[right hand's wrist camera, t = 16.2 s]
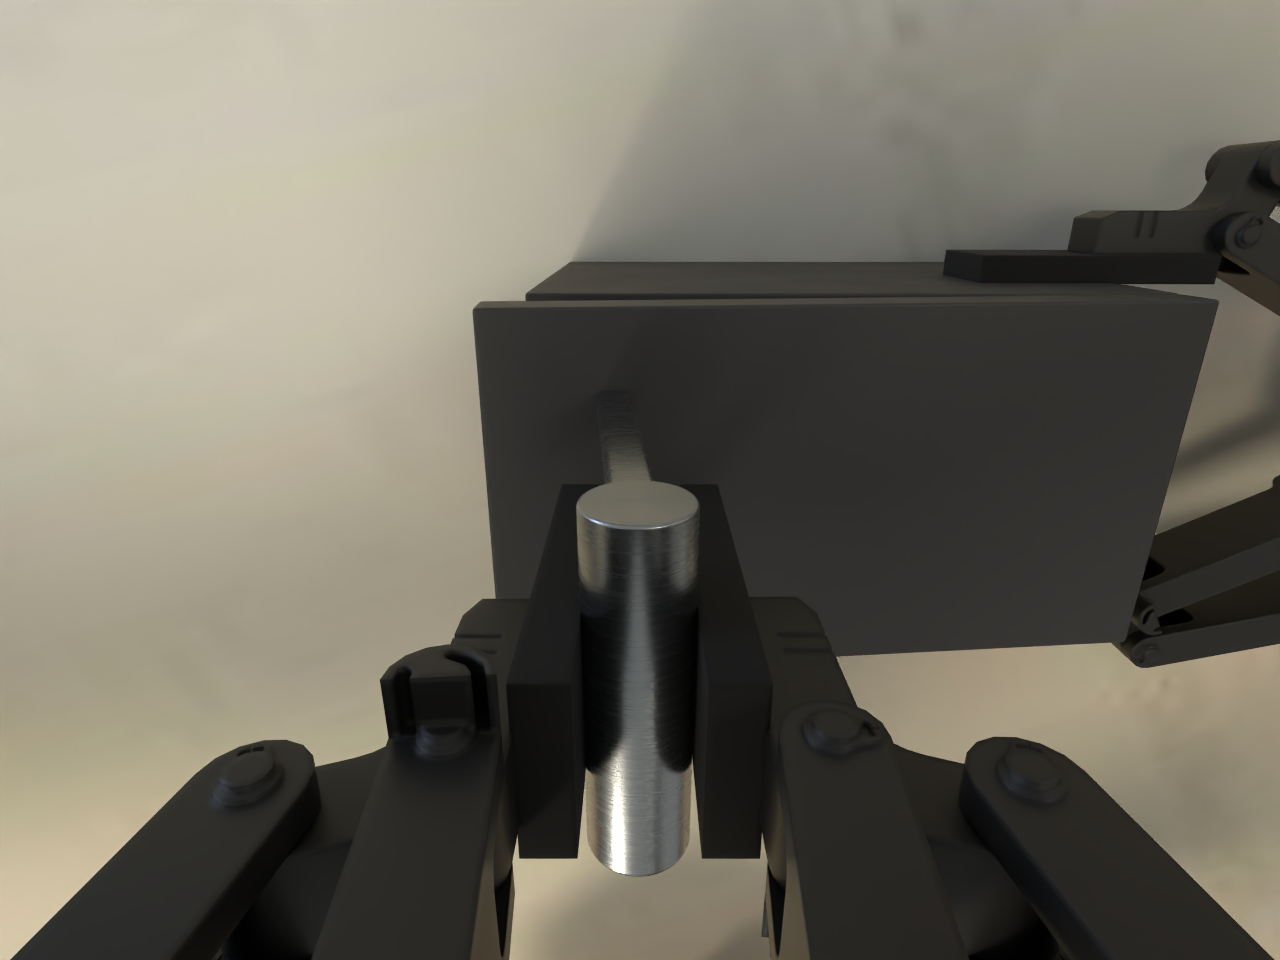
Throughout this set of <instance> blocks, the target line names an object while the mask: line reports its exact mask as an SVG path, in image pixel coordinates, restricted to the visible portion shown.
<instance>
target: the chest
mask: <svg viewBox="0 0 1280 960" xmlns="http://www.w3.org/2000/svg"><path fill="white" fill-rule="evenodd" d="M943 269H944V262H570V263H568V264H567V265H566V266H564V267H563V268H561V269H560V270H559V271H557V272H556V273H554V274H553V275H552V276H550V277H549V278H547V279H546V280H544V281H543V282H542V283H540V284H539V285H537V286H536V287H535V288H533V289H532V290H530V291H529V292H528V293H526V301H591V300H687V299H784V298H881V297H978V296H1075V295H1172V294H1177V293H1171V292H1164V291H1158V290H1152V289H1146V288H1140V287H1134V286H1128V285H1122V284H1116V283H978V282H974V281H970V280H965V279H961V278H956V277H952V276H948V275H943Z"/></svg>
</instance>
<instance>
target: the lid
mask: <svg viewBox="0 0 1280 960" xmlns="http://www.w3.org/2000/svg"><path fill="white" fill-rule="evenodd" d="M1218 304H1219V301H1218V300H1215V299H1208V298H1201V297H1194V296H1187V295H1180V294H1172V295H1075V296H978V297H881V298H784V299H687V300H591V301H494V302H480V303H479V304H478V305H477V306H476V307H475V308H474V309H473V322H474V334H475V347H476V359H477V371H478V384H479V396H480V409H481V421H482V434H483V446H484V458H485V471H486V483H487V496H488V508H489V521H490V533H491V545H492V558H493V570H494V583H495V595H496V599H530V596H531V593H532V589H533V586H534V582H535V578H536V575H537V571H538V568H539V564H540V561H541V557H542V553H543V550H544V546H545V543H546V539H547V536H548V532H549V528H550V525H551V521H552V518H553V514H554V510H555V507H556V503H557V500H558V496H559V493H560V489H561V485H562V484H599V486H598V487H595V488H593V489H590V490H588V491H587V492H585V493H584V494H583V495H582V496H581V497H580V498H579V500H578V502H577V505H576V515H577V545H578V575H579V604H580V611H581V633H582V663H583V693H584V723H585V753H586V773H585V781H586V811H587V837H588V843H589V846H590V848H591V851H592V852H593V854H594V855H595V857H596V858H597V859H598V860H599V861H600V862H601V863H602V864H603V865H604V866H606V867H607V868H609V869H610V870H612V871H614V872H617V873H620V874H623V875H627V876H636V877H637V876H650V875H654V874H657V873H660V872H663V871H664V870H666V869H668V868H670V867H671V866H673V865H674V864H675V863H676V862H677V861H678V860H679V859H680V858H681V856H682V855H683V854H684V852H685V850H686V848H687V845H688V842H689V835H690V805H691V773H692V742H693V710H694V679H695V648H696V616H697V585H698V553H699V522H700V504H699V501H698V499H697V497H696V496H695V495H694V494H693V493H691V492H690V491H688V490H686V489H684V488H682V487H680V484H718V487H719V491H720V495H721V498H722V502H723V505H724V509H725V513H726V516H727V520H728V523H729V527H730V530H731V534H732V538H733V541H734V545H735V548H736V552H737V556H738V559H739V563H740V566H741V570H742V573H743V577H744V581H745V584H746V588H747V591H748V595H749V597H798V598H799V599H800V600H802V601H803V602H804V603H805V604H806V605H808V606H809V607H810V608H811V609H812V610H814V611H815V612H816V613H817V615H818V617H819V620H820V622H821V624H822V627H823V629H824V631H825V636H827V638H828V640H829V643H830V645H831V647H832V652H834V654H835V656H854V655H874V654H893V653H913V652H933V651H952V650H972V649H992V648H1011V647H1031V646H1051V645H1070V644H1090V643H1110V642H1124V641H1125V640H1126V636H1127V632H1128V629H1129V625H1130V622H1131V618H1132V614H1133V611H1134V607H1135V604H1136V600H1137V596H1138V593H1139V589H1140V586H1141V582H1142V578H1143V575H1144V571H1145V567H1146V564H1147V560H1148V557H1149V553H1150V549H1151V546H1152V542H1153V539H1154V535H1155V531H1156V528H1157V524H1158V521H1159V517H1160V513H1161V510H1162V506H1163V503H1164V499H1165V495H1166V492H1167V488H1168V484H1169V481H1170V477H1171V474H1172V470H1173V466H1174V463H1175V459H1176V456H1177V452H1178V448H1179V445H1180V441H1181V438H1182V434H1183V430H1184V427H1185V423H1186V420H1187V416H1188V412H1189V409H1190V405H1191V401H1192V398H1193V394H1194V391H1195V387H1196V383H1197V380H1198V376H1199V373H1200V369H1201V365H1202V362H1203V358H1204V355H1205V351H1206V347H1207V344H1208V340H1209V337H1210V333H1211V329H1212V326H1213V322H1214V319H1215V315H1216V311H1217V308H1218Z"/></svg>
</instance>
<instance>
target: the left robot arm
mask: <svg viewBox="0 0 1280 960" xmlns="http://www.w3.org/2000/svg"><path fill="white" fill-rule="evenodd" d="M1205 177H1206V181H1207V184H1206V186H1205V187H1204V189H1203V191H1202V192H1201V194H1200V195H1199V196H1198V198H1197V199H1196V200H1195V201H1194V202H1192V203H1191V204H1190V205H1188V206H1186V207H1185V208H1182V209H1179V210H1173V211H1090V212H1087V213H1085V214H1082V215H1080V216H1077V217H1074V221H1073V226H1072V231H1071V236H1070V240H1069V245H1068V250H946V255H945V262H944V269H943V275H948V276H952V277H956V278H961V279H965V280H970V281H974V282H978V283H1116V284H1214V283H1215V279H1216V277H1217V278H1219V279H1221V280H1222V281H1224V282H1225V283H1227V284H1229V285H1230V286H1232V287H1234V288H1235V289H1237V290H1238V291H1240V292H1242V293H1243V294H1245V295H1246V296H1248V297H1250V298H1251V299H1253V300H1255V301H1256V302H1258V303H1259V304H1261V305H1263V306H1264V307H1266V308H1267V309H1269V310H1271V311H1272V312H1274V313H1276V314H1277V315H1279V316H1280V224H1279V223H1277V222H1276V221H1274V220H1273V219H1271V218H1270V217H1269V216H1270V214H1271V213H1272V211H1273V210H1274V208H1275V206H1279V207H1280V140H1278V141H1269V142H1259V143H1250V144H1241V145H1231V146H1227V147H1224V148H1221V149H1219V150H1218V151H1217V152H1216V153H1214V154H1213V155H1212V157H1211V158H1210V160H1209V161H1208V163H1207V166H1206V170H1205ZM1272 482H1273V487H1272V488H1270V489H1269V490H1266V491H1264V492H1261V493H1259V494H1256V495H1254V496H1251V497H1249V498H1246V499H1244V500H1241V501H1239V502H1237V503H1234V504H1232V505H1229V506H1227V507H1224V508H1222V509H1219V510H1217V511H1214V512H1212V513H1209V514H1207V515H1205V516H1202V517H1200V518H1197V519H1195V520H1192V521H1190V522H1187V523H1185V524H1182V525H1180V526H1178V527H1175V528H1173V529H1170V530H1168V531H1165V532H1163V533H1160V534H1158V535H1155V536H1154V539H1153V542H1152V546H1151V549H1150V553H1149V557H1148V560H1147V564H1146V567H1145V571H1144V575H1143V578H1142V582H1141V586H1140V589H1139V593H1138V596H1137V600H1136V604H1135V607H1134V611H1133V614H1132V618H1131V622H1130V625H1129V629H1128V632H1127V636H1126V640H1125V641H1124V642H1111V643H1112V644H1113V645H1114V646H1115V647H1116V648H1117V649H1118V650H1119V651H1121V652H1122V653H1123V654H1124V655H1125V656H1126V657H1127V658H1128V659H1129V660H1130V661H1131V662H1133V663H1134V664H1135V665H1136V666H1138V667H1141V668H1149V667H1155V666H1160V665H1166V664H1171V663H1177V662H1182V661H1188V660H1193V659H1198V658H1204V657H1209V656H1215V655H1220V654H1226V653H1231V652H1237V651H1242V650H1248V649H1253V648H1258V647H1264V646H1269V645H1275V644H1280V475H1279V476H1277V477H1275V478H1274V479H1273V481H1272Z"/></svg>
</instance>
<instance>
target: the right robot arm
mask: <svg viewBox="0 0 1280 960" xmlns="http://www.w3.org/2000/svg"><path fill="white" fill-rule="evenodd" d="M598 486H599V484H562V485H561V489H560V493H559V496H558V500H557V503H556V507H555V510H554V514H553V518H552V521H551V525H550V528H549V532H548V536H547V539H546V543H545V546H544V550H543V553H542V557H541V561H540V564H539V568H538V571H537V575H536V578H535V582H534V586H533V589H532V593H531V596H530V599H482V600H481V601H479V602H478V603H477V604H476V605H475V606H474V607H472V608H471V609H470V610H469V611H468V612H466V613H465V614H464V615H463V616H462V619H461V621H460V623H459V626H458V628H457V630H456V633H455V638H453V640H452V642H451V644H450V645H442V646H435V647H429V648H425V649H422V650H419V651H417V652H414V653H411V654H409V655H406V656H405V657H403V658H402V659H400V660H399V661H397V662H396V663H394V664H393V665H391V666H390V667H389V668H388V670H387V671H386V672H385V674H384V675H383V676H382V678H381V679H380V684H381V690H382V697H383V703H384V710H385V716H386V723H387V730H388V736H389V739H388V742H387V745H386V747H383V748H381V749H379V750H377V751H375V752H373V753H370V754H366V755H363V756H360V757H356V758H353V759H348V760H344V761H339V762H335V763H331V764H326V765H322V766H318V767H315V763H314V758H313V755H312V754H311V753H310V752H309V751H308V750H307V749H306V748H305V747H304V745H301V744H298V743H295V742H291V741H288V740H264V741H260V742H256V743H252V744H248V745H244V746H241V747H238V748H236V749H234V750H232V751H230V752H228V753H226V754H224V755H221V756H219V757H217V758H215V759H214V760H213V761H212V762H210V763H209V764H208V765H206V766H205V767H204V768H203V769H201V770H200V771H199V772H197V773H196V774H195V775H194V776H193V777H192V778H191V779H190V780H189V781H188V782H187V783H186V784H185V785H184V786H183V787H182V788H181V789H180V790H179V791H178V792H177V793H176V794H175V795H174V796H173V797H172V798H171V799H170V800H169V801H168V802H167V803H166V804H165V805H164V806H163V807H162V808H161V809H160V810H159V811H158V812H157V813H156V814H155V815H154V816H153V817H152V818H151V819H150V820H149V821H148V822H147V823H146V824H145V825H144V826H143V827H142V828H141V829H140V830H139V831H138V832H137V833H136V834H135V835H134V836H133V837H132V838H131V839H130V840H129V841H128V842H127V843H126V844H125V845H124V846H123V847H122V848H121V849H120V850H119V851H118V852H117V853H116V854H115V855H114V856H113V857H112V858H111V859H110V860H109V861H108V862H107V863H106V864H105V865H104V866H103V867H102V868H101V869H100V870H99V871H98V872H97V873H96V874H95V875H94V876H93V877H92V878H91V879H90V880H89V881H88V882H87V883H86V884H85V885H84V886H83V887H82V888H81V889H80V890H79V891H78V892H77V893H76V894H75V895H74V896H73V897H72V898H71V899H70V900H69V901H68V902H67V903H66V904H65V905H64V906H63V907H62V908H61V909H60V910H59V911H58V912H57V913H56V914H55V915H54V916H53V917H52V918H51V919H50V920H49V921H48V922H47V923H46V924H45V925H44V926H43V927H42V928H41V929H40V930H39V931H38V932H37V933H36V934H35V935H34V936H33V937H32V938H31V939H30V940H29V941H28V942H27V943H26V944H25V946H24V947H23V948H22V949H21V950H20V951H19V952H18V953H17V954H16V955H15V956H14V957H13V958H12V959H11V960H509V954H510V943H511V931H512V920H513V908H514V897H515V889H514V877H513V865H512V860H513V855H514V849H515V844H516V839H517V834H518V846H519V858H520V859H573V858H577V857H578V847H579V836H580V826H581V815H582V805H583V794H584V784H585V773H586V753H585V723H584V693H583V663H582V633H581V611H580V604H579V575H578V545H577V515H576V505H577V502H578V500H579V498H580V497H581V496H582V495H583V494H584V493H585V492H587V491H588V490H590V489H593V488H595V487H598ZM680 487H682V488H684V489H686V490H688V491H690V492H691V493H693V494H694V495H695V496H696V497H697V499H698V501H699V504H700V522H699V553H698V585H697V616H696V648H695V679H694V710H693V742H692V758H693V769H694V779H695V790H696V800H697V811H698V821H699V832H700V843H701V853H702V859H760V851H761V838H762V834H763V839H764V844H765V849H766V854H767V859H768V865H767V877H766V889H765V901H764V913H763V925H762V937H769V942H770V953H771V960H1274V959H1273V958H1272V957H1271V956H1270V955H1269V954H1268V953H1267V952H1266V951H1265V950H1264V949H1263V948H1262V947H1261V946H1260V945H1259V944H1258V943H1257V942H1256V941H1255V940H1254V939H1253V938H1252V937H1251V936H1250V935H1249V934H1248V933H1247V932H1246V931H1245V930H1244V929H1243V928H1242V927H1241V926H1240V925H1239V924H1238V923H1237V922H1236V921H1235V920H1234V919H1233V918H1232V917H1231V916H1230V915H1229V914H1228V913H1227V912H1226V911H1225V910H1224V909H1223V908H1222V907H1221V906H1220V905H1219V904H1218V903H1217V902H1216V901H1215V900H1214V899H1213V898H1212V897H1211V896H1210V895H1209V894H1208V893H1207V892H1206V891H1205V890H1204V889H1203V888H1202V887H1201V886H1200V885H1199V884H1198V883H1197V882H1196V881H1195V880H1194V879H1193V878H1192V877H1191V876H1190V875H1189V874H1188V873H1187V872H1186V871H1185V870H1184V869H1183V868H1182V867H1181V866H1180V865H1179V864H1178V863H1177V862H1176V861H1175V860H1174V859H1173V858H1172V857H1171V856H1170V855H1169V854H1168V853H1167V852H1166V851H1165V850H1164V849H1163V848H1162V847H1161V846H1160V845H1159V844H1158V843H1157V842H1156V841H1155V840H1154V839H1153V838H1152V837H1151V836H1150V835H1149V834H1148V833H1146V832H1145V831H1144V830H1143V829H1142V828H1141V827H1140V826H1139V825H1138V824H1137V823H1136V822H1135V821H1134V820H1133V819H1132V818H1131V817H1130V816H1129V815H1128V814H1127V813H1126V812H1125V811H1124V810H1123V809H1122V808H1121V807H1120V806H1119V805H1118V804H1117V803H1116V802H1115V801H1114V800H1113V799H1112V798H1111V797H1110V796H1109V795H1108V794H1107V793H1106V792H1105V791H1104V790H1103V789H1102V788H1101V787H1100V786H1099V785H1098V784H1097V783H1096V782H1095V781H1094V780H1093V779H1092V778H1091V777H1090V776H1089V775H1088V774H1087V773H1086V772H1085V771H1084V770H1083V769H1082V768H1080V767H1079V766H1078V765H1076V764H1075V763H1074V762H1073V761H1071V760H1070V759H1069V758H1067V757H1066V756H1065V755H1063V754H1061V753H1059V752H1057V751H1055V750H1053V749H1050V748H1048V747H1046V746H1044V745H1042V744H1040V743H1036V742H1032V741H1028V740H1024V739H1020V738H1017V737H992V738H988V739H985V740H982V741H978V742H976V743H975V744H974V745H973V747H972V748H971V749H970V750H969V751H968V752H967V755H966V760H965V764H962V763H957V762H953V761H949V760H944V759H940V758H935V757H931V756H927V755H923V754H920V753H916V752H913V751H910V750H906V749H904V748H902V747H900V746H898V745H896V744H894V743H893V741H892V738H891V736H890V735H889V733H888V731H887V730H886V728H885V727H884V725H883V724H882V722H880V721H879V720H878V719H876V718H875V717H874V716H872V715H871V714H870V713H869V712H867V711H866V710H863V709H861V708H858V707H857V705H856V702H855V700H854V698H853V696H852V693H851V691H850V689H849V686H848V684H847V682H846V679H845V677H844V675H843V673H842V670H841V668H840V666H839V663H838V661H837V659H836V656H835V654H834V652H832V647H831V645H830V643H829V640H828V638H827V636H825V631H824V629H823V627H822V624H821V622H820V620H819V617H818V615H817V613H816V612H815V611H814V610H812V609H811V608H810V607H809V606H808V605H806V604H805V603H804V602H803V601H802V600H800V599H799V598H798V597H749V595H748V591H747V588H746V584H745V581H744V577H743V573H742V570H741V566H740V563H739V559H738V556H737V552H736V548H735V545H734V541H733V538H732V534H731V530H730V527H729V523H728V520H727V516H726V513H725V509H724V505H723V502H722V498H721V495H720V491H719V487H718V484H680Z"/></svg>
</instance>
